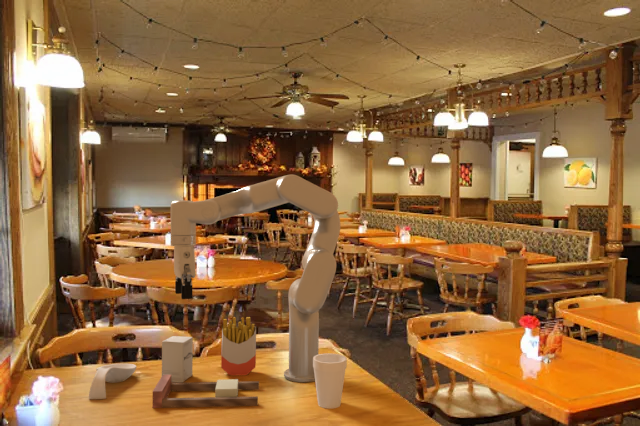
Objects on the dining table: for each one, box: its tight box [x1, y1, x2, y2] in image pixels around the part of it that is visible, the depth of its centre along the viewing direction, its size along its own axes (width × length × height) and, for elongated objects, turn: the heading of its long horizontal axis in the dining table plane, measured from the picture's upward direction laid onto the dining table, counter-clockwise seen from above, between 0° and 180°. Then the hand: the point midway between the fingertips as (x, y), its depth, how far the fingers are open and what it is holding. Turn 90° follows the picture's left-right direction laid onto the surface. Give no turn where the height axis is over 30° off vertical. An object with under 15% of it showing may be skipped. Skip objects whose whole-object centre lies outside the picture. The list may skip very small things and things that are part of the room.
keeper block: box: [214, 378, 239, 397], centre depth 158 cm, size 6×8×4 cm
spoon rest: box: [88, 363, 137, 400], centre depth 167 cm, size 24×12×7 cm, turn 4°
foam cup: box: [313, 352, 348, 409], centre depth 153 cm, size 10×9×13 cm
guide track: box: [152, 374, 260, 409], centre depth 158 cm, size 28×14×4 cm, turn 95°
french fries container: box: [220, 316, 257, 376], centre depth 179 cm, size 5×11×18 cm, turn 94°
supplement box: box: [161, 335, 194, 383], centre depth 174 cm, size 7×7×13 cm
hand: (183, 296), depth 169 cm, fingers open, 9 cm apart
